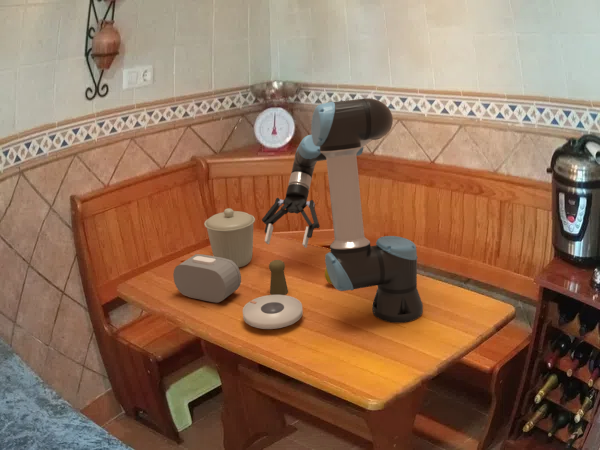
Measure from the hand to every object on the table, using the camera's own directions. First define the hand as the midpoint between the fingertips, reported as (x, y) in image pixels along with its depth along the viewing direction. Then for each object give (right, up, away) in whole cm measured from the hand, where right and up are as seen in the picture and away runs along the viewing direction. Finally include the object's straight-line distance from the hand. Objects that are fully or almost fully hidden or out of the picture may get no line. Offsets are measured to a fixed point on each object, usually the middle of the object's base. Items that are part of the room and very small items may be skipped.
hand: (285, 244), depth 227 cm
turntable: (-3, -20, -22) cm, 30 cm away
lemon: (+16, -14, -1) cm, 21 cm away
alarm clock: (-25, -17, -3) cm, 30 cm away
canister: (-19, -8, +21) cm, 30 cm away
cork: (-2, -16, -3) cm, 16 cm away
